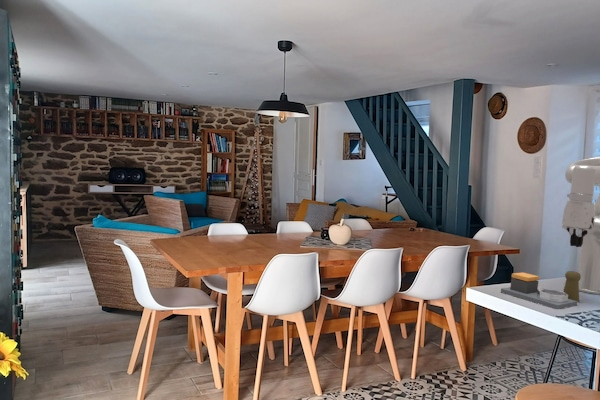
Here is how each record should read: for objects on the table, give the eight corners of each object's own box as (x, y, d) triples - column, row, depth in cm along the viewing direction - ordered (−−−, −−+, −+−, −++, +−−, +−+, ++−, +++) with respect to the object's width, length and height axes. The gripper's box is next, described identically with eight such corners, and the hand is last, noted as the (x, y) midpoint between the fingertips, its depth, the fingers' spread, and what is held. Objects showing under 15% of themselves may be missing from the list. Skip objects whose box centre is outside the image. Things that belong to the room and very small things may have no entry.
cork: (581, 302, 188) (584, 274, 187) (564, 300, 189) (567, 272, 188) (576, 298, 194) (579, 270, 193) (559, 296, 195) (562, 269, 194)
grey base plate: (520, 289, 203) (521, 274, 203) (576, 305, 184) (578, 289, 184) (500, 292, 196) (502, 277, 196) (557, 309, 177) (559, 292, 177)
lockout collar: (546, 294, 192) (547, 287, 192) (571, 300, 184) (572, 294, 184) (532, 296, 187) (533, 290, 187) (557, 303, 179) (557, 296, 179)
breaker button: (521, 283, 200) (522, 272, 199) (537, 287, 194) (538, 276, 193) (510, 284, 196) (511, 273, 196) (527, 289, 190) (528, 277, 190)
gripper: (555, 196, 193) (550, 243, 195) (597, 200, 180) (591, 250, 181) (566, 196, 197) (561, 242, 199) (607, 200, 184) (602, 249, 186)
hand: (575, 245), depth 190 cm, fingers closed
